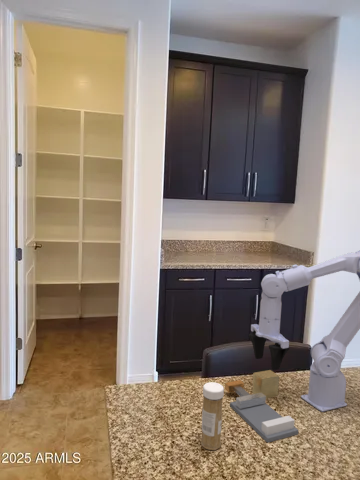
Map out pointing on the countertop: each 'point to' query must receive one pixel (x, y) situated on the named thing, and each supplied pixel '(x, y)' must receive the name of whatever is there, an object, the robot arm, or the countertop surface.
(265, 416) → the vise base
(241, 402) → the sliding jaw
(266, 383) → the brass block
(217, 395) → the sprinkles bottle
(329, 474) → the countertop surface
